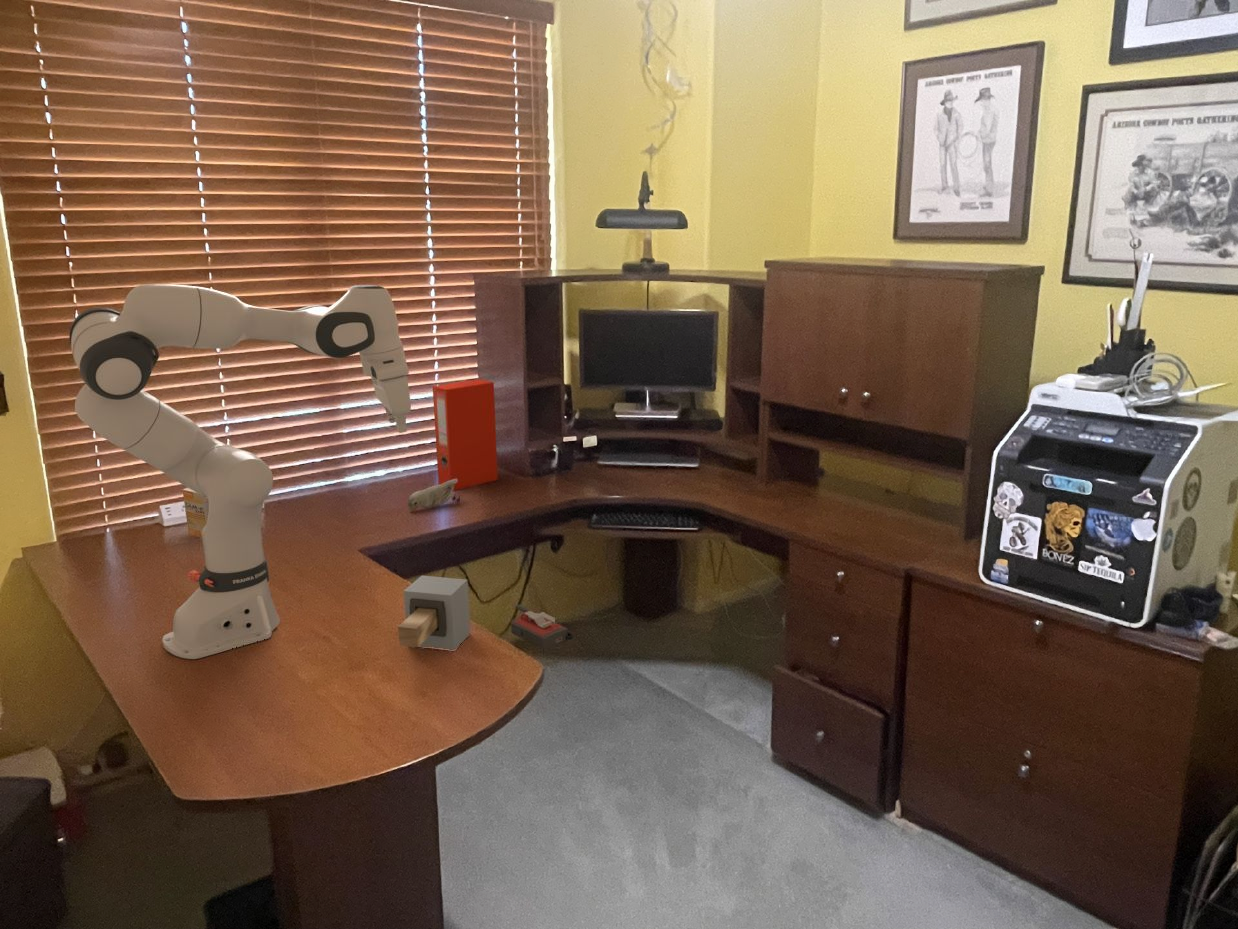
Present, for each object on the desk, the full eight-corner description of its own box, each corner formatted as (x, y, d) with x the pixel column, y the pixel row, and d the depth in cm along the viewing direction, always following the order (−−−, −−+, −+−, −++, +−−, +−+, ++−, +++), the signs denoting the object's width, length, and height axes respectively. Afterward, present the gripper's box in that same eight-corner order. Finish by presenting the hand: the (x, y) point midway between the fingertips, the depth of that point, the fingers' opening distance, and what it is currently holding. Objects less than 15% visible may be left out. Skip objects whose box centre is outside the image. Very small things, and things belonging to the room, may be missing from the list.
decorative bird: (405, 511, 264) (403, 486, 262) (454, 500, 274) (453, 476, 272) (413, 515, 260) (411, 490, 258) (463, 504, 270) (461, 480, 268)
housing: (453, 653, 178) (449, 597, 175) (406, 648, 180) (401, 592, 177) (470, 634, 186) (467, 579, 183) (425, 629, 188) (421, 575, 185)
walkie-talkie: (581, 639, 184) (520, 610, 198) (581, 619, 183) (519, 591, 197) (548, 654, 178) (487, 622, 192) (547, 633, 177) (486, 603, 191)
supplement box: (187, 535, 245) (180, 489, 242) (202, 530, 249) (196, 484, 246) (208, 540, 242) (201, 493, 238) (223, 534, 246) (217, 488, 242)
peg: (417, 647, 169) (416, 628, 168) (399, 645, 170) (397, 626, 169) (449, 615, 183) (447, 598, 182) (431, 614, 183) (430, 596, 182)
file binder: (498, 480, 293) (493, 382, 285) (452, 491, 282) (446, 389, 274) (484, 475, 299) (479, 379, 290) (438, 485, 288) (432, 386, 279)
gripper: (360, 358, 195) (374, 419, 200) (377, 374, 177) (392, 441, 182) (389, 352, 197) (402, 413, 202) (409, 367, 179) (423, 433, 184)
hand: (397, 426), depth 192 cm, fingers open, 8 cm apart
